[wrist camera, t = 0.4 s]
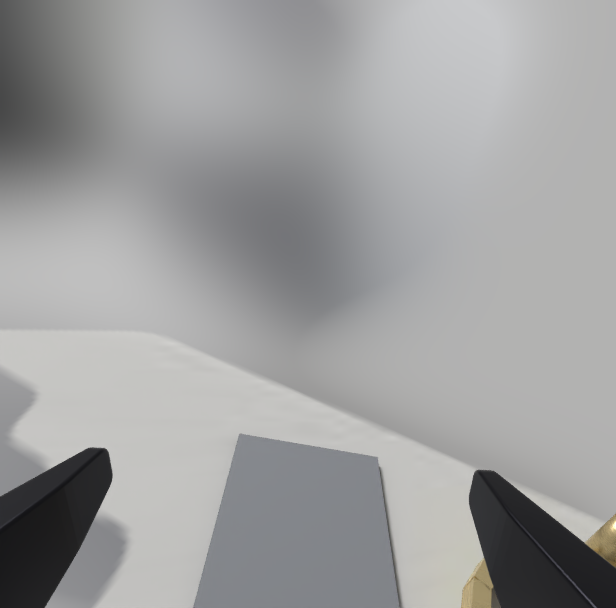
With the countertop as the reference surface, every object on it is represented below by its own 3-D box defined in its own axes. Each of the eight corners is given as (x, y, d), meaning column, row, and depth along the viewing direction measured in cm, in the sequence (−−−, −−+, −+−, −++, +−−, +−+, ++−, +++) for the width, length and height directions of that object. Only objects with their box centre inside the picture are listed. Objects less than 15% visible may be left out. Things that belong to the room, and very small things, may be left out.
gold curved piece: (740, 870, 15) (882, 855, 12) (453, 621, 20) (501, 568, 17) (689, 628, 22) (768, 582, 19) (491, 496, 28) (529, 445, 25)
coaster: (400, 643, 19) (404, 639, 18) (192, 614, 18) (192, 609, 18) (375, 462, 28) (377, 457, 28) (238, 438, 28) (239, 433, 27)
